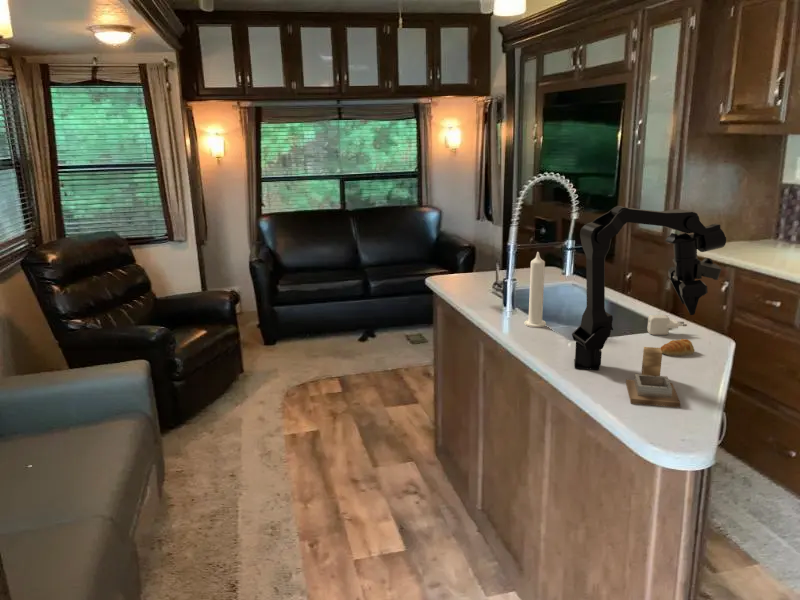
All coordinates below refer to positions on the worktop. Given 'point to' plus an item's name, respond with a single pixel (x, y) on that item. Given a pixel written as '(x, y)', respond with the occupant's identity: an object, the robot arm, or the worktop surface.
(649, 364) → the rail post
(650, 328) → the power adapter
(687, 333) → the worktop surface
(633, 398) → the plate
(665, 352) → the pastry
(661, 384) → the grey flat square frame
